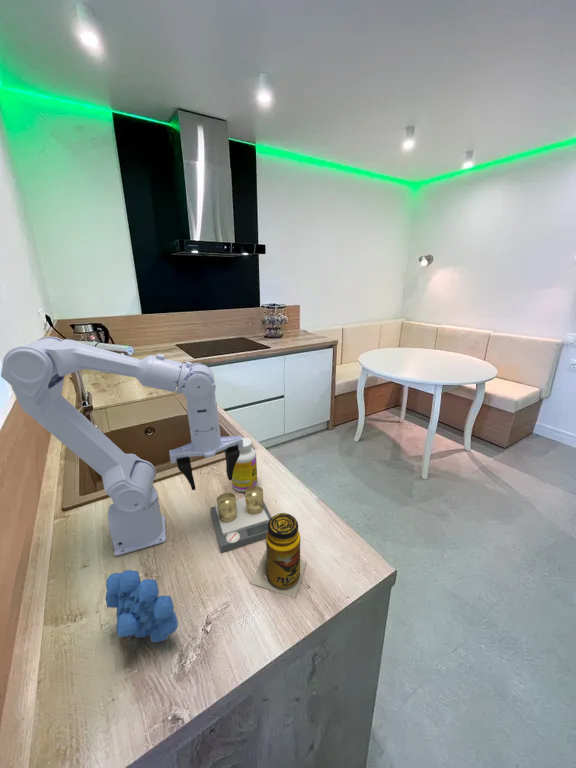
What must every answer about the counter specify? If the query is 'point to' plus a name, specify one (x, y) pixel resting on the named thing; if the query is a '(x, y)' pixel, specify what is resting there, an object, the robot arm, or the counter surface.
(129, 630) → the grapes
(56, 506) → the counter surface
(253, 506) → the cylinder
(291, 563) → the condiment
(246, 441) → the supplement bottle
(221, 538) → the scale
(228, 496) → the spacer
